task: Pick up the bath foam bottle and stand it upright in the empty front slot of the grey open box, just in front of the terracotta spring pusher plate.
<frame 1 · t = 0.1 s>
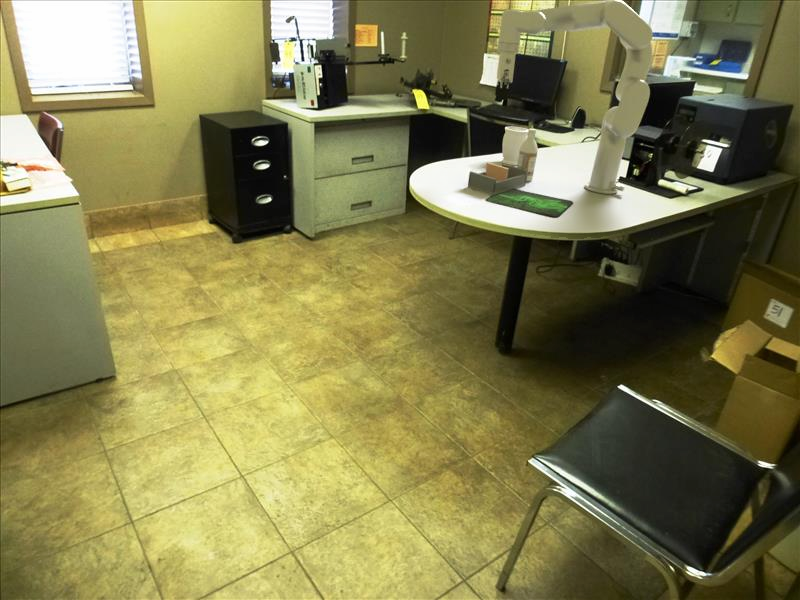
hand: (500, 97, 213), 31 cm above the table, tool pointing down, fingers open, 9 cm apart
jar: (511, 163, 254), on the table
bath foam: (523, 179, 232), on the table
mouse mat: (528, 203, 206), on the table
grey open box: (496, 186, 220), on the table
pusher: (493, 175, 215), point 5 cm above the table, slide at 0.0 cm
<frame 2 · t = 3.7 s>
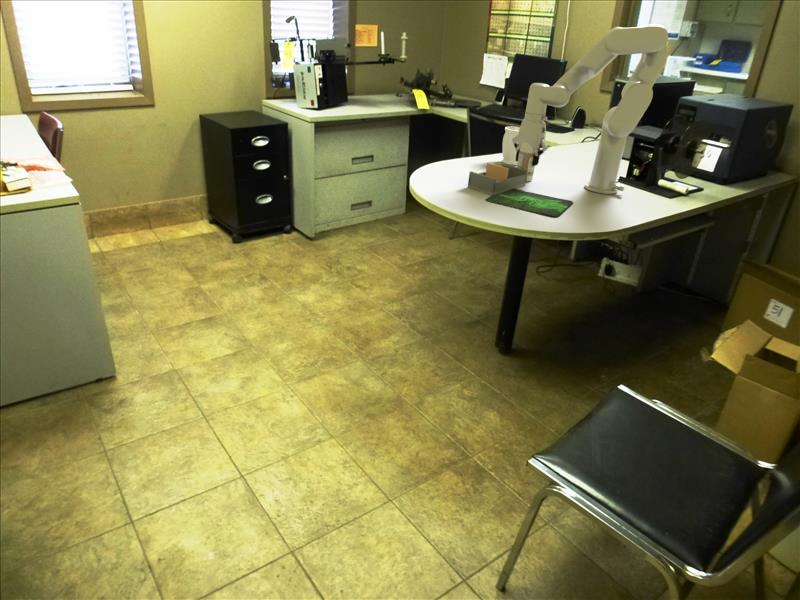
hand: (526, 162, 228), 7 cm above the table, tool pointing down, fingers closed on bath foam, 7 cm apart
bath foam: (523, 179, 232), on the table, touching gripper
everything else where it was.
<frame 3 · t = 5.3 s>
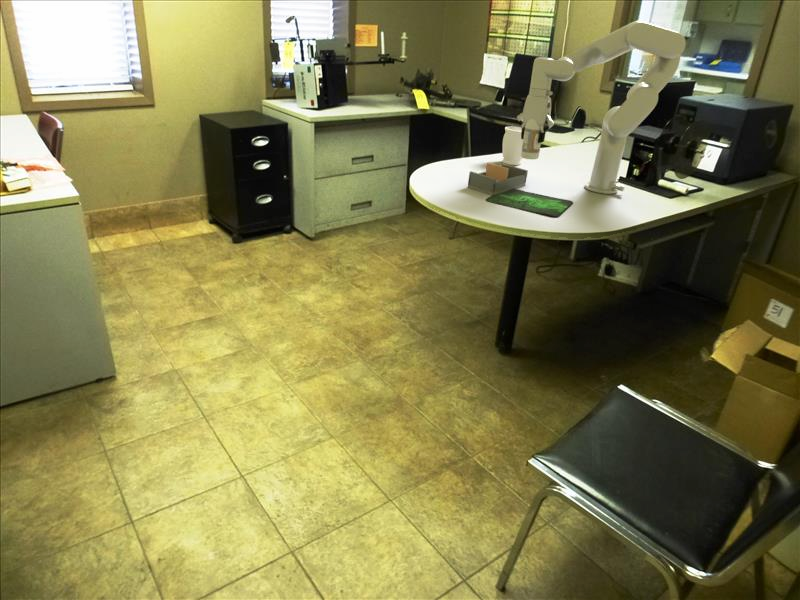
hand: (532, 140, 224), 16 cm above the table, tool pointing down, fingers closed on bath foam, 7 cm apart
bath foam: (529, 158, 227), point 9 cm above the table, touching gripper
everything else where it was.
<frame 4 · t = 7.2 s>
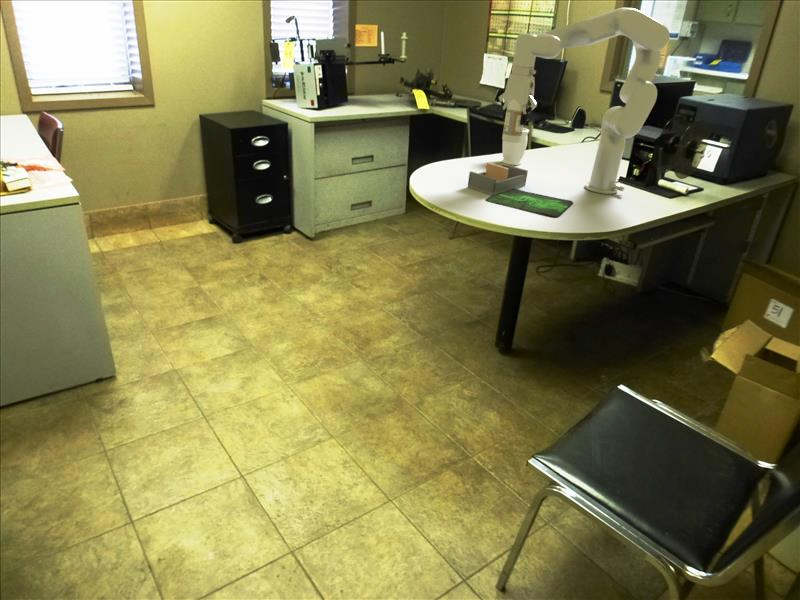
hand: (514, 122, 212), 24 cm above the table, tool pointing down, fingers closed on bath foam, 7 cm apart
bath foam: (511, 141, 215), point 17 cm above the table, touching gripper
everything else where it was.
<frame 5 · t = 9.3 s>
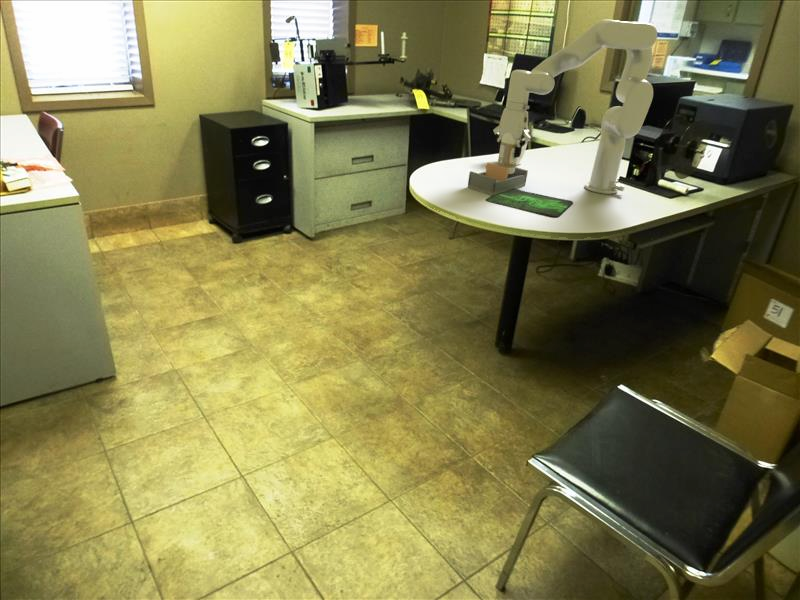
hand: (508, 154, 217), 12 cm above the table, tool pointing down, fingers closed on bath foam, 7 cm apart
bath foam: (505, 172, 221), point 5 cm above the table, touching gripper
everything else where it was.
when the fingers open (9 cm above the table, at t = 10.9 s): bath foam drops 1 cm, resting on grey open box.
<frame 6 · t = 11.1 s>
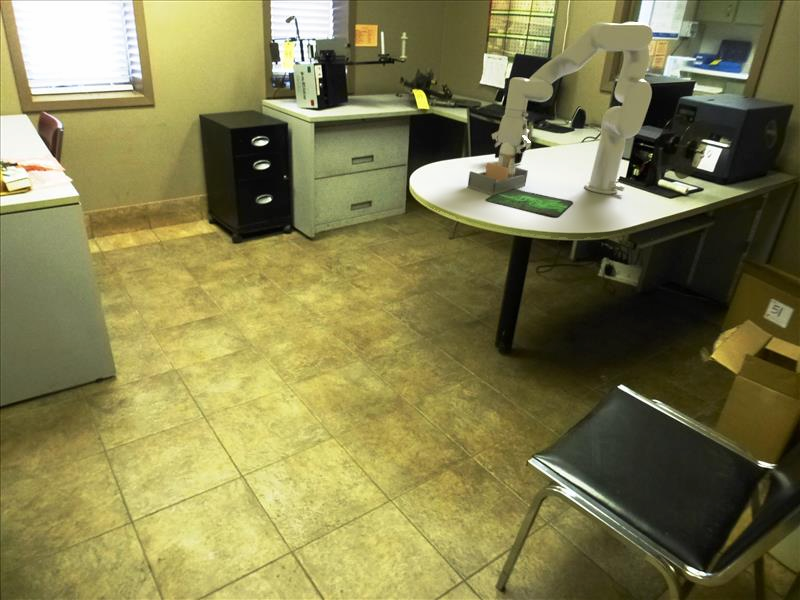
hand: (507, 160, 218), 10 cm above the table, tool pointing down, fingers open, 8 cm apart
bath foam: (504, 182, 223), point 1 cm above the table, touching grey open box
everything else where it was.
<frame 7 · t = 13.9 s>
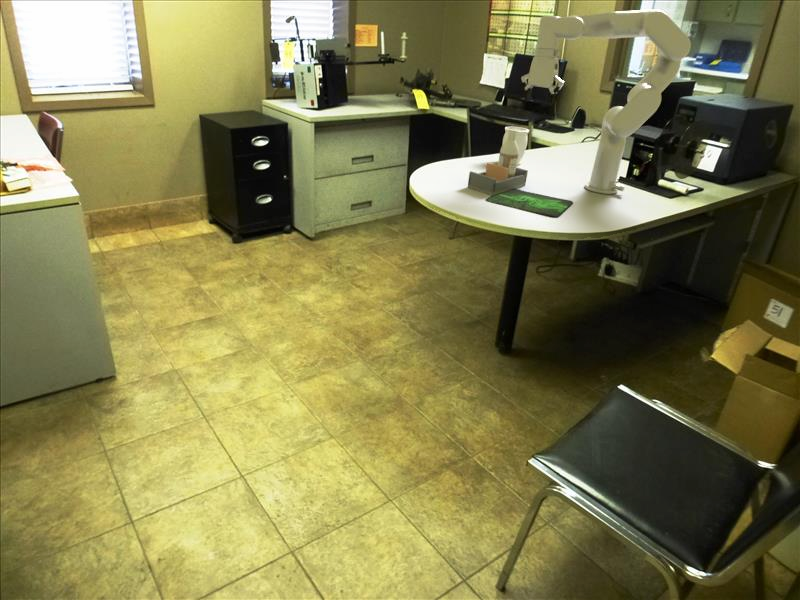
hand: (538, 102, 215), 30 cm above the table, tool pointing down, fingers open, 9 cm apart
nothing on the table moved.
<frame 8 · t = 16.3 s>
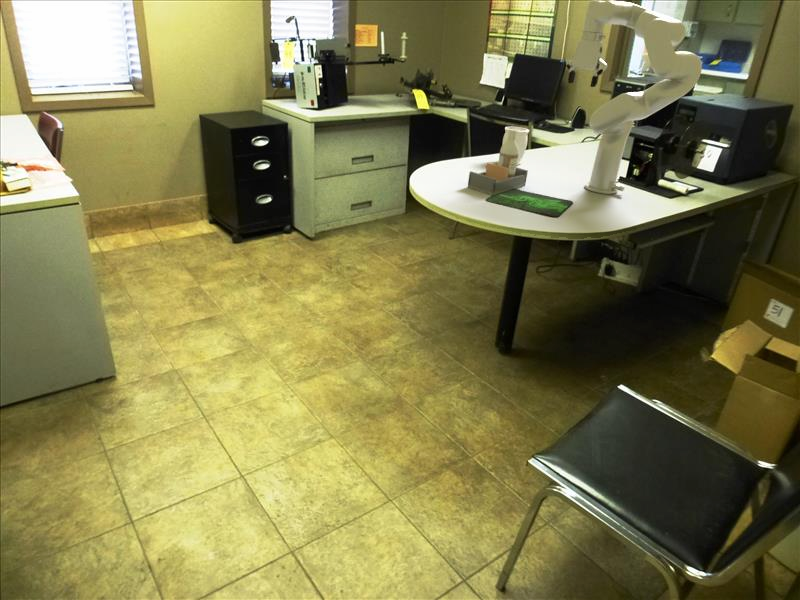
hand: (581, 84, 225), 36 cm above the table, tool pointing down, fingers open, 9 cm apart
nothing on the table moved.
at the end: bath foam 0.2 cm from the target spot on the grey open box, point 0.8 cm above the grey open box's base; bath foam tilted 0°; the gripper is holding nothing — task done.
